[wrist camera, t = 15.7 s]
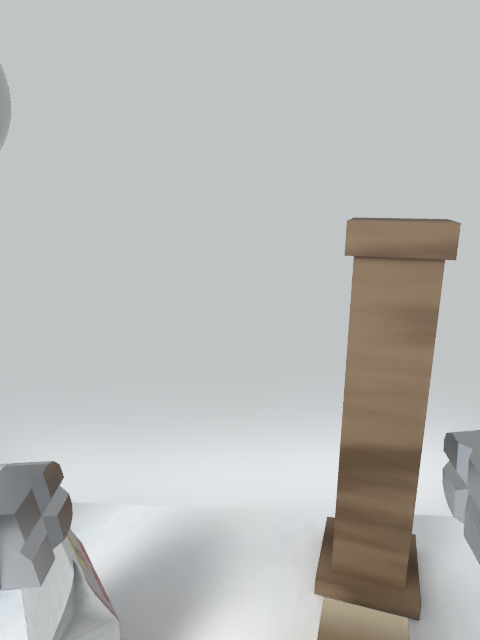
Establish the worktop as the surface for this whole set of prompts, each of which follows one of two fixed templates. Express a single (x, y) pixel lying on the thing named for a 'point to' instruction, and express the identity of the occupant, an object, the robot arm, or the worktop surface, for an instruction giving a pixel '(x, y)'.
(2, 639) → the worktop surface
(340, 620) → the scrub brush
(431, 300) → the walnut stand
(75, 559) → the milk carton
